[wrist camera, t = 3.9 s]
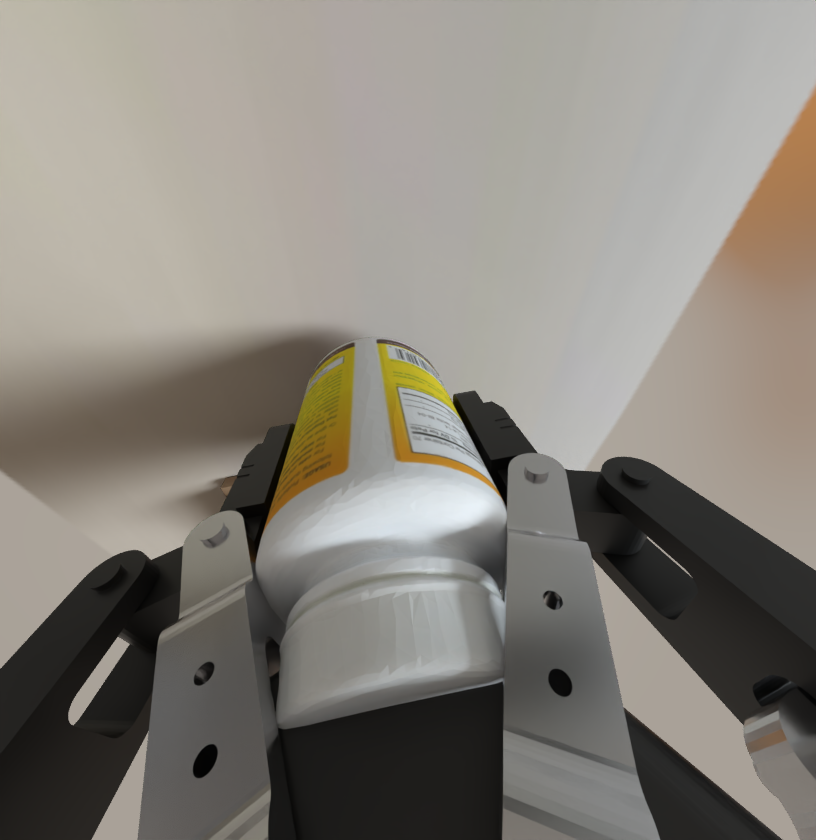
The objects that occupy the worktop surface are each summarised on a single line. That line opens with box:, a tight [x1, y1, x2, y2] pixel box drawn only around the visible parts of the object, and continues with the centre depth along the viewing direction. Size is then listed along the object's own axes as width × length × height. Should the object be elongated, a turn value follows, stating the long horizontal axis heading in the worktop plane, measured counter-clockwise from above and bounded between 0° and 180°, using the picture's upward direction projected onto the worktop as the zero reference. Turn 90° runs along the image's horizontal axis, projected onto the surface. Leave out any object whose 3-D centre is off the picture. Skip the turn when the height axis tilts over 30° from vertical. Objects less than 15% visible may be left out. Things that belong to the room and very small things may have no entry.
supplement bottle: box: [256, 337, 507, 729], centre depth 9 cm, size 6×6×10 cm
